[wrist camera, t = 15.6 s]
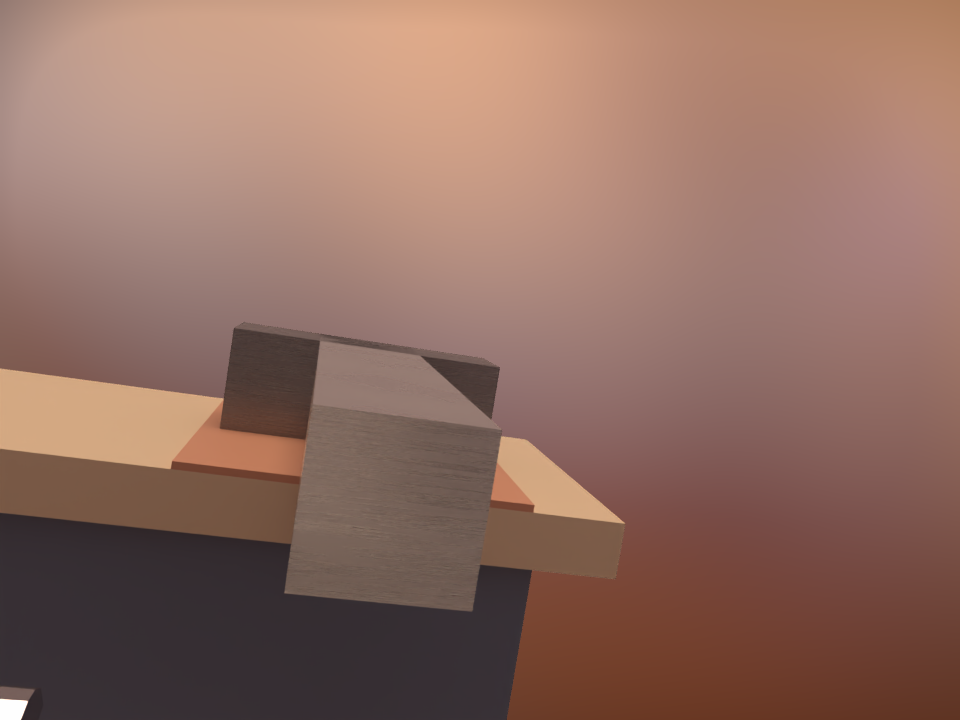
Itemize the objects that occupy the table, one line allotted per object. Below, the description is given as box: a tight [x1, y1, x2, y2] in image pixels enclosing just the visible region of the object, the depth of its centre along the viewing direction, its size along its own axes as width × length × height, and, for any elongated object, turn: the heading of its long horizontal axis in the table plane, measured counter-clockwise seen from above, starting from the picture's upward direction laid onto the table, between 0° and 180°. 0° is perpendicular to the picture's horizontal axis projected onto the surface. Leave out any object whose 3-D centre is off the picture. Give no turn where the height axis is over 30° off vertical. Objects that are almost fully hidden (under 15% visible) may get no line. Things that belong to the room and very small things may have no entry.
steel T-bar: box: [220, 322, 502, 612], centre depth 22 cm, size 8×16×3 cm, turn 9°
